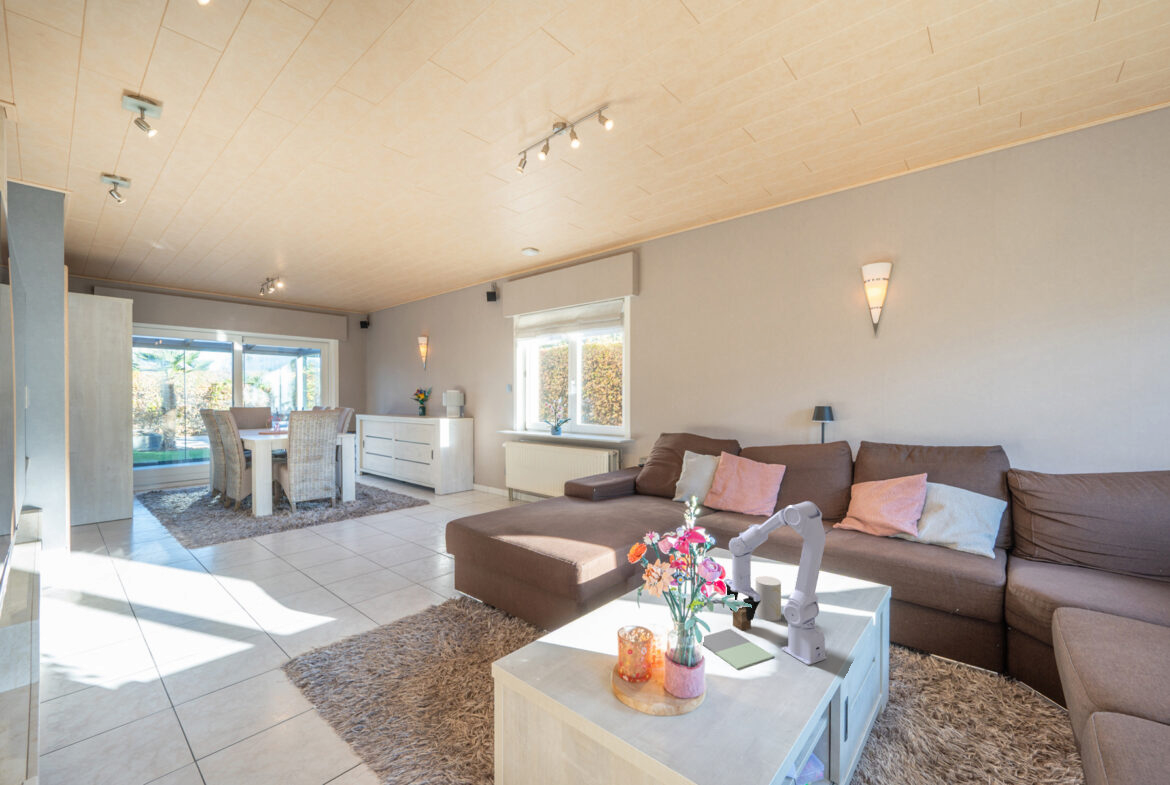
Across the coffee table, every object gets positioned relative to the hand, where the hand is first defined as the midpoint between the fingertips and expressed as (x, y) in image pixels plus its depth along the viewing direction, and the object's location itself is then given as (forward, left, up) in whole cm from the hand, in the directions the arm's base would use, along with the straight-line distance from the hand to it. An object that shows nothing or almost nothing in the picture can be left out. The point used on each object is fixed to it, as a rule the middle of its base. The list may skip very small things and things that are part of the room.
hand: (741, 614), depth 158 cm
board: (-9, +12, -4) cm, 16 cm away
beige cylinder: (+2, -14, -4) cm, 15 cm away
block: (0, 0, -4) cm, 4 cm away
